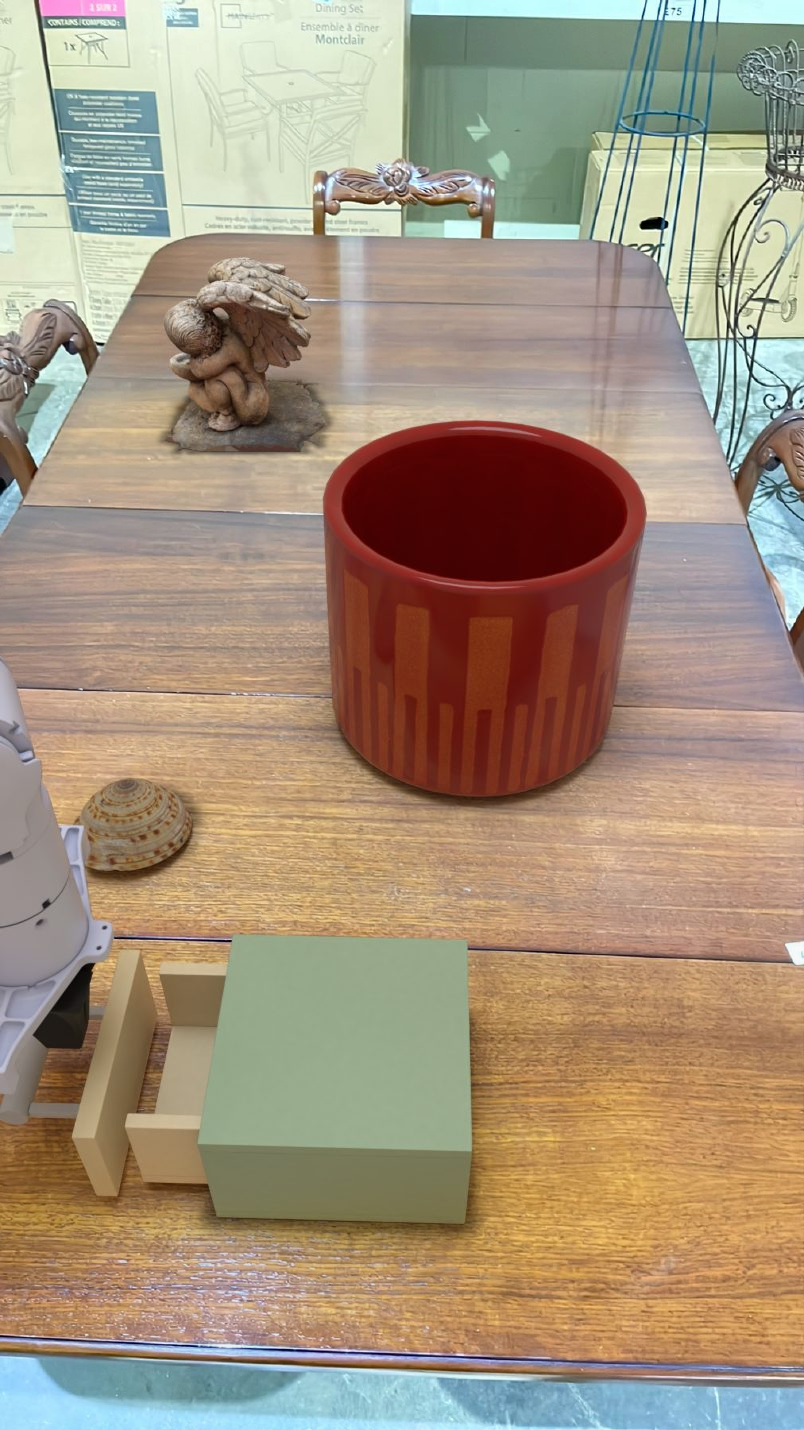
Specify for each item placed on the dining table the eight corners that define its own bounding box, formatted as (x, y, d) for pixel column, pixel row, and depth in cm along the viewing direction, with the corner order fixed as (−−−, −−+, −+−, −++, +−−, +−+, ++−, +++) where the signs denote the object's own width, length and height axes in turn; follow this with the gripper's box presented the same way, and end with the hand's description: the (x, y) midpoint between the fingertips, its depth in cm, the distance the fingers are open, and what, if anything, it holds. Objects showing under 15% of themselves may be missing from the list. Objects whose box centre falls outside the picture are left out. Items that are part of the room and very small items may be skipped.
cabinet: (216, 1217, 59) (196, 1143, 53) (246, 1015, 68) (232, 933, 63) (464, 1224, 59) (472, 1151, 53) (461, 1020, 68) (467, 939, 62)
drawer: (5, 1193, 59) (-28, 1134, 55) (59, 1011, 68) (34, 946, 63) (324, 1202, 59) (318, 1144, 54) (338, 1018, 67) (334, 953, 63)
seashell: (41, 848, 76) (91, 748, 79) (74, 873, 81) (121, 777, 84) (142, 881, 73) (190, 777, 76) (170, 905, 78) (214, 806, 81)
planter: (647, 790, 83) (696, 573, 69) (349, 824, 80) (340, 604, 67) (567, 611, 100) (595, 408, 86) (319, 634, 97) (307, 428, 83)
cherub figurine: (189, 380, 135) (168, 231, 123) (332, 383, 134) (326, 234, 122) (160, 450, 122) (134, 292, 110) (319, 453, 121) (311, 295, 109)
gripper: (50, 1019, 44) (109, 1170, 53) (126, 768, 55) (164, 929, 64) (-120, 1015, 44) (-33, 1166, 53) (-11, 765, 55) (46, 926, 64)
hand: (66, 1037), depth 59 cm, fingers closed
